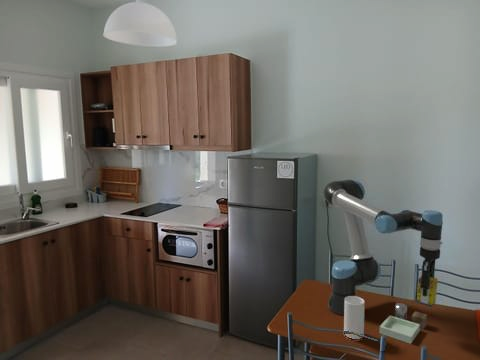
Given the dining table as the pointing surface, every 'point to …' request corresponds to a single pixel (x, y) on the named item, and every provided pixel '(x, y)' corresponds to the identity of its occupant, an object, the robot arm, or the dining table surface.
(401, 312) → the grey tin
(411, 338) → the tray
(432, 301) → the supplement box
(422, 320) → the walnut block
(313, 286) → the dining table surface
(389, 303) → the dining table surface
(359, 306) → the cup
